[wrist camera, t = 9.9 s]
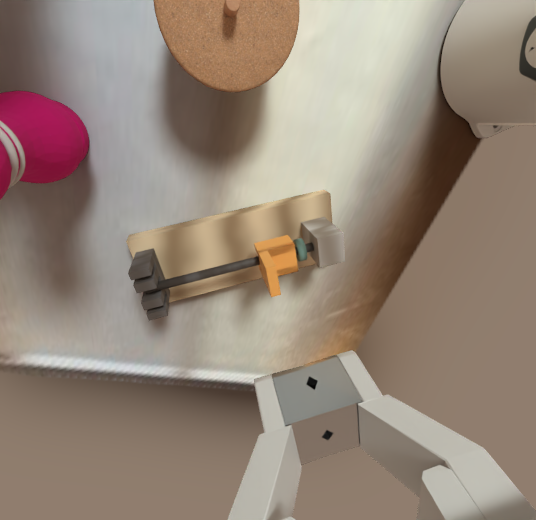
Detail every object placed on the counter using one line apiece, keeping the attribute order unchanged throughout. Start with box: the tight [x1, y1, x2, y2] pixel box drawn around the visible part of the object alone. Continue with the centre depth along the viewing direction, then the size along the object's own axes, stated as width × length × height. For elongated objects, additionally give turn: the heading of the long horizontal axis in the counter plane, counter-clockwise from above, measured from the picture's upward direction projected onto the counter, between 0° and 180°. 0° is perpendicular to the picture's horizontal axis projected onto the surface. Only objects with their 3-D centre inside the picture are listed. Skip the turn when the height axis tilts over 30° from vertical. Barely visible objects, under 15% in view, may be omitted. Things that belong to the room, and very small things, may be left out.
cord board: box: [126, 190, 345, 320], centre depth 36 cm, size 24×9×8 cm, turn 100°
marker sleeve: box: [254, 235, 298, 297], centre depth 33 cm, size 4×3×6 cm
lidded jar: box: [154, 0, 299, 92], centre depth 25 cm, size 11×11×9 cm
